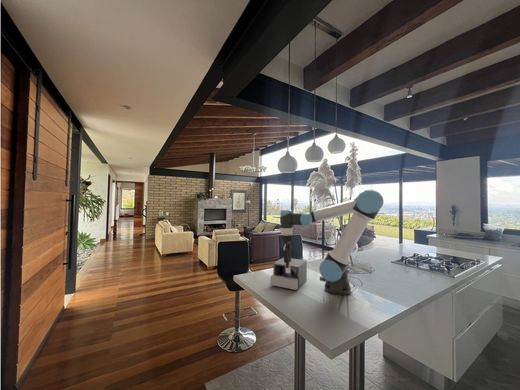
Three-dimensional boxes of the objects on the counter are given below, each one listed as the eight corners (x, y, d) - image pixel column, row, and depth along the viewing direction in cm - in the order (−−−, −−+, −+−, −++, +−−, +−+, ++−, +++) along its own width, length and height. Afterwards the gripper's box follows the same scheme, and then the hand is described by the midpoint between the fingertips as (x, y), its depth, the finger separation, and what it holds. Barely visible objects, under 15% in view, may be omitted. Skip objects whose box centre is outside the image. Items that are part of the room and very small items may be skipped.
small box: (281, 279, 146) (281, 263, 147) (285, 276, 152) (285, 261, 153) (297, 282, 142) (297, 265, 142) (300, 279, 148) (300, 263, 148)
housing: (306, 280, 151) (306, 260, 152) (298, 289, 135) (298, 266, 136) (283, 276, 159) (283, 257, 160) (273, 284, 143) (273, 263, 144)
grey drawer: (305, 279, 150) (305, 271, 150) (296, 289, 131) (296, 280, 131) (282, 275, 158) (282, 267, 158) (270, 284, 139) (270, 276, 139)
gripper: (284, 233, 146) (285, 269, 144) (277, 235, 134) (278, 275, 132) (295, 233, 142) (296, 270, 141) (289, 236, 131) (290, 276, 129)
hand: (288, 272), depth 137 cm, fingers closed
